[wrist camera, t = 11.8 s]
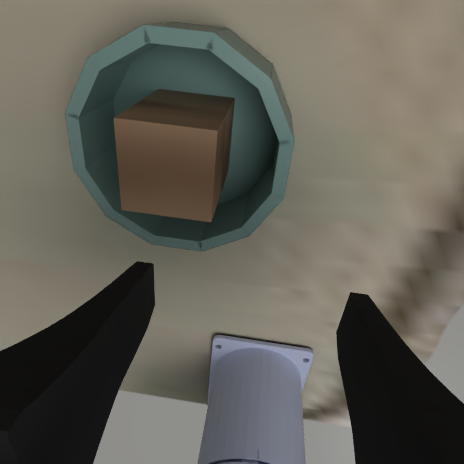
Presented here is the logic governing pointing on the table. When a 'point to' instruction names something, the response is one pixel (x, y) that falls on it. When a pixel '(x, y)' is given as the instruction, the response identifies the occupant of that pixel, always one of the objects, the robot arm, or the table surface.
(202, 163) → the walnut block
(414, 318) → the table surface
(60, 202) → the table surface
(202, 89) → the teal bowl
